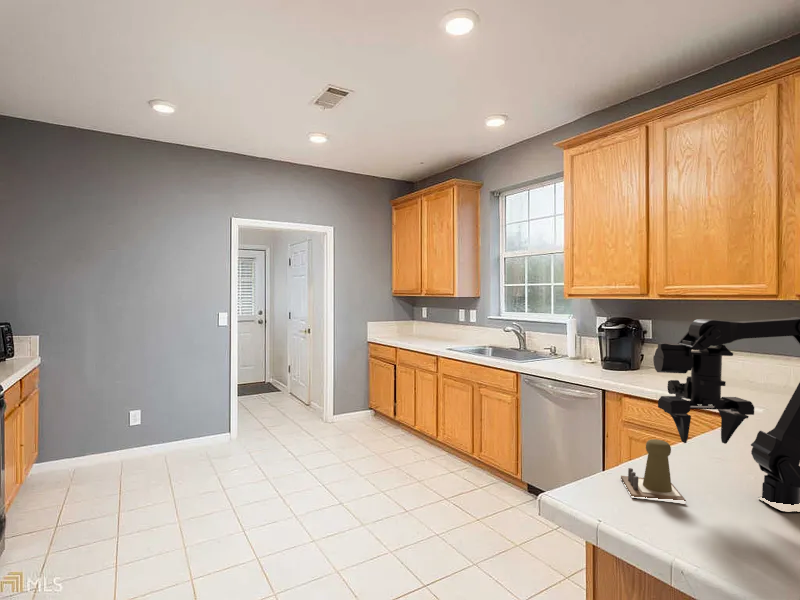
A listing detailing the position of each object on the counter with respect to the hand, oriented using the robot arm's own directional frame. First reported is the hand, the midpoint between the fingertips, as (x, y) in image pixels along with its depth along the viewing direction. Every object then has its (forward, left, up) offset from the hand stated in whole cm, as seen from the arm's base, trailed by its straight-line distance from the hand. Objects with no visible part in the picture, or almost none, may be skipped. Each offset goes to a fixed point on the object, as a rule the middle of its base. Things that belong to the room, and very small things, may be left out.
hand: (704, 442), depth 104 cm
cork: (+8, -4, -12) cm, 15 cm away
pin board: (+9, -4, -13) cm, 17 cm away
